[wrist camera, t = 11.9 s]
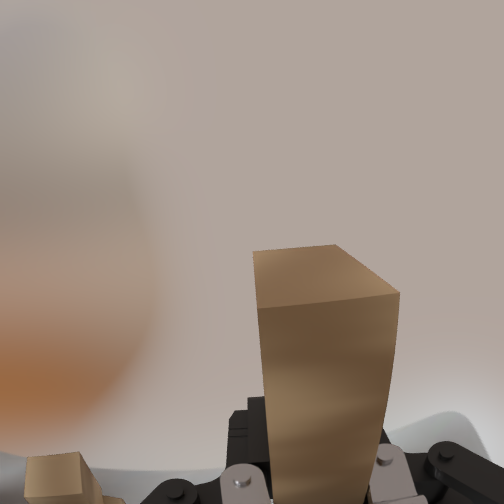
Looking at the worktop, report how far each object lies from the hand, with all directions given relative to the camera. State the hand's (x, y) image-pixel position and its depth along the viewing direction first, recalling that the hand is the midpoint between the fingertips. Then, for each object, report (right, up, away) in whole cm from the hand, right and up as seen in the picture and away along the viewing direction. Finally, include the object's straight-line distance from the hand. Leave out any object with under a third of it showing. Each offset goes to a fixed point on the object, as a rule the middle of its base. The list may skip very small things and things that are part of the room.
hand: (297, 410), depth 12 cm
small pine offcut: (-10, -7, -2) cm, 12 cm away
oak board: (+1, -9, -1) cm, 9 cm away
